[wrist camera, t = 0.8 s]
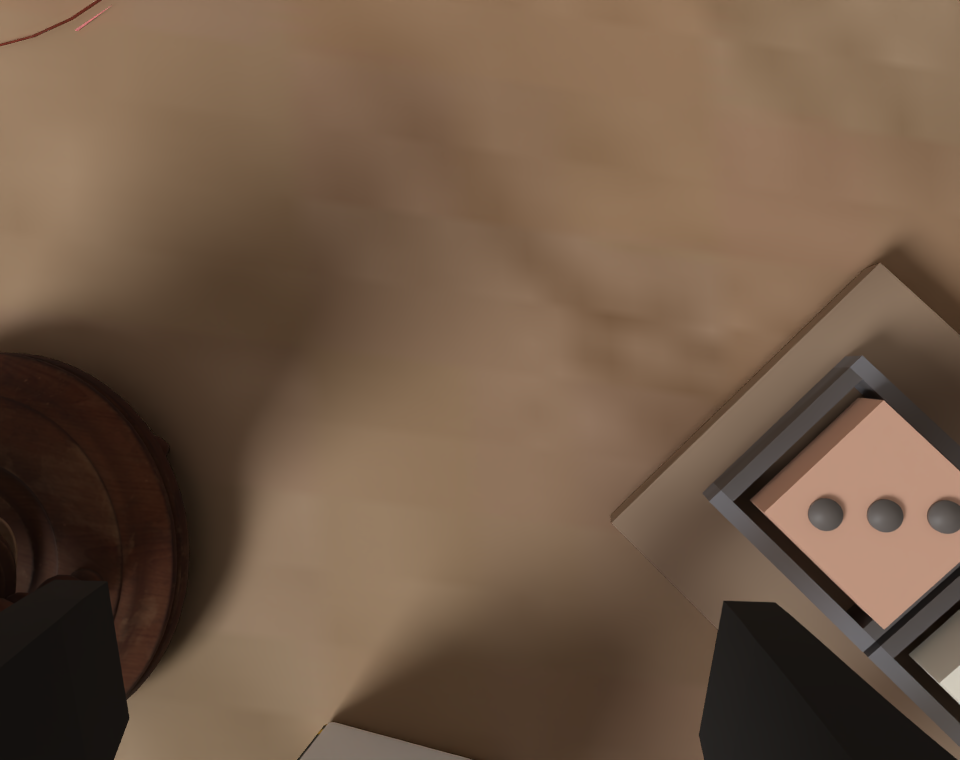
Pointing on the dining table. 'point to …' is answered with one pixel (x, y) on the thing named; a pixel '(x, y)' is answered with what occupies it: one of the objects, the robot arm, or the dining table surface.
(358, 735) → the medicine bottle
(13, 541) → the dark brown tall piece
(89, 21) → the figurine
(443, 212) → the dining table surface
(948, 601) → the panel
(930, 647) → the tile two
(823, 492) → the tile three
